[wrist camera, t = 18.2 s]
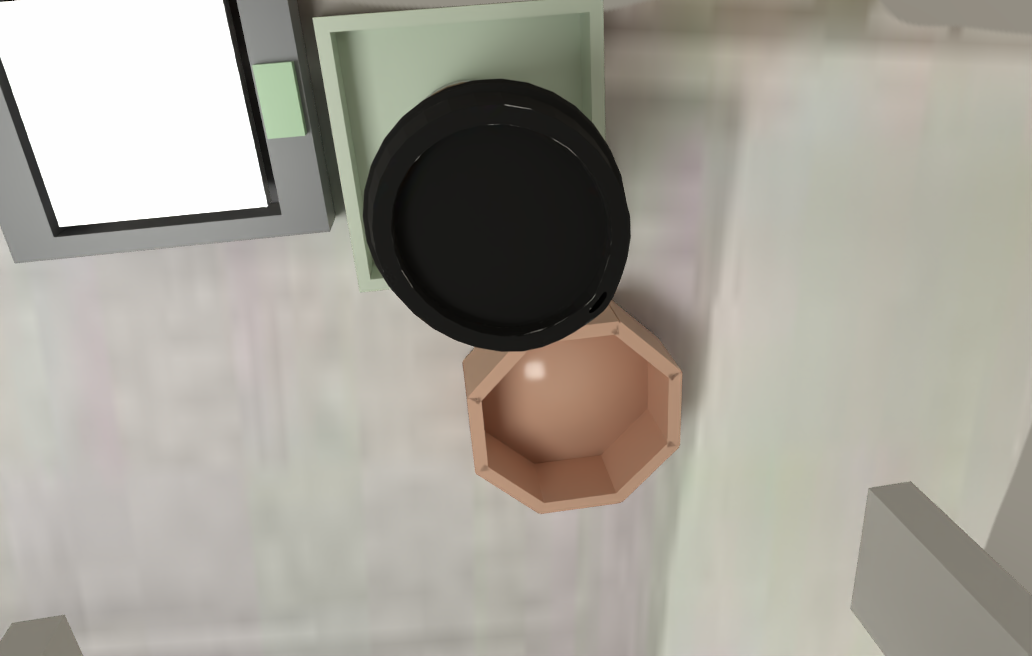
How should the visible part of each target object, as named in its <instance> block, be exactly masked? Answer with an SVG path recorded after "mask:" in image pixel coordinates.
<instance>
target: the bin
mask: <svg viewBox="0 0 1032 656" xmlns="http://www.w3.org/2000/svg"><path fill="white" fill-rule="evenodd" d="M463 371H464V380H465V389H466V397H467V406H468V415H469V424H470V433H471V441H472V449H473V457H474V466H475V473H476V474H477V475H479V476H480V477H482V478H484V479H485V480H487V481H488V482H490V483H491V484H493V485H495V486H496V487H498V488H499V489H501V490H502V491H504V492H506V493H507V494H509V495H510V496H512V497H513V498H515V499H517V500H518V501H520V502H521V503H523V504H525V505H526V506H528V507H529V508H531V509H532V510H534V511H536V512H537V513H540V514H544V513H551V512H558V511H565V510H573V509H580V508H587V507H595V506H602V505H609V504H617V503H621V502H623V501H624V500H625V499H626V498H627V497H628V496H629V495H630V494H631V493H632V492H633V491H634V490H635V489H636V488H637V487H638V486H639V485H641V484H642V483H643V482H644V481H645V480H646V479H647V478H648V477H649V476H650V475H651V474H652V473H653V472H654V471H655V470H656V469H657V468H658V467H659V466H660V465H661V464H662V463H663V462H664V461H665V460H666V459H667V458H668V457H670V456H671V455H672V454H673V453H674V452H675V451H676V450H677V449H678V448H679V446H680V427H681V396H682V371H681V369H680V368H679V366H678V365H677V364H676V362H675V361H674V360H673V358H672V357H671V355H670V354H669V353H668V351H667V350H666V348H665V347H664V346H663V344H662V343H661V341H660V340H659V339H658V338H657V337H656V336H655V335H654V334H653V333H651V332H650V331H649V330H648V329H646V328H645V327H644V326H643V325H642V324H640V323H639V322H638V321H637V320H635V319H634V318H633V317H632V316H631V315H629V314H628V313H627V312H626V311H624V310H623V309H622V308H621V307H620V306H618V305H617V304H616V303H615V302H613V301H612V300H611V302H610V303H609V305H608V306H607V308H606V309H605V310H604V311H603V312H602V313H601V314H600V315H598V316H597V317H596V318H595V319H593V320H592V321H590V322H589V323H588V324H586V325H585V326H583V327H582V328H580V329H579V330H577V331H576V332H574V333H572V334H570V335H569V336H567V337H565V338H563V339H561V340H559V341H557V342H554V343H552V344H549V345H547V346H544V347H542V348H537V349H532V350H527V351H523V352H500V351H494V350H488V349H482V348H477V347H475V348H474V349H473V350H472V352H471V353H470V354H469V355H468V356H467V357H466V358H465V359H464V361H463Z"/></svg>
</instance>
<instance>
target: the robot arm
mask: <svg viewBox="0 0 1032 656" xmlns="http://www.w3.org/2000/svg"><path fill="white" fill-rule="evenodd" d="M851 610H852V611H853V613H854V614H855V616H856V617H857V618H858V620H859V621H860V622H861V624H862V625H863V626H864V628H865V629H866V630H867V632H868V633H869V634H870V636H871V637H872V639H873V640H874V641H875V643H876V644H877V645H878V647H879V648H880V649H881V651H882V652H883V653H884V655H885V656H1032V595H1031V594H1030V593H1029V592H1028V591H1027V590H1026V589H1025V588H1024V587H1023V586H1022V585H1021V584H1019V583H1018V582H1017V581H1016V580H1015V579H1014V578H1013V577H1012V576H1011V575H1010V574H1009V573H1008V572H1007V571H1006V570H1005V569H1004V568H1002V567H1001V566H1000V565H999V564H998V563H997V562H996V561H995V560H994V559H993V558H992V557H991V556H990V555H989V554H987V553H986V552H985V551H984V550H983V549H982V548H981V547H980V546H979V545H978V544H977V543H976V542H975V541H974V540H973V539H972V538H970V537H969V536H968V535H967V534H966V533H965V532H964V531H963V530H962V529H961V528H960V527H959V526H958V525H957V524H956V523H954V522H953V521H952V520H951V519H950V518H949V517H948V516H947V515H946V514H945V513H944V512H943V511H942V510H941V509H940V508H939V507H937V506H936V505H935V504H934V503H933V502H932V501H931V500H930V499H929V498H928V497H927V496H926V495H925V494H924V493H923V492H921V491H920V490H919V489H918V488H917V487H916V486H915V485H914V484H913V483H912V482H905V483H898V484H892V485H886V486H879V487H873V488H869V490H868V496H867V503H866V509H865V516H864V523H863V529H862V536H861V542H860V549H859V556H858V562H857V569H856V576H855V582H854V589H853V595H852V602H851ZM0 656H83V654H82V652H81V650H80V648H79V646H78V643H77V641H76V639H75V637H74V635H73V632H72V630H71V628H70V626H69V624H68V622H67V619H66V617H65V615H61V616H54V617H48V618H42V619H35V620H29V621H23V622H16V623H12V624H11V626H10V627H9V629H8V630H7V632H6V633H5V635H4V637H3V638H2V640H1V641H0Z"/></svg>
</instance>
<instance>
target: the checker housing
mask: <svg viewBox="0 0 1032 656" xmlns="http://www.w3.org/2000/svg"><path fill="white" fill-rule="evenodd" d="M0 2H4V1H3V0H0ZM237 5H238V10H239V14H240V19H241V24H242V29H243V33H244V38H245V43H246V48H247V52H248V57H249V62H250V67H251V71H252V76H253V81H254V85H255V90H256V95H257V100H258V104H259V109H260V114H261V119H262V123H263V128H264V133H265V138H266V142H267V147H268V152H269V156H270V161H271V166H272V171H273V175H274V180H275V185H276V190H277V194H278V199H279V202H278V203H270V204H269V205H268V206H267V207H257V208H246V209H236V210H226V211H216V212H205V213H195V214H185V215H175V216H164V217H154V218H144V219H134V220H123V221H113V222H103V223H93V224H82V225H72V226H62V227H60V226H59V223H58V220H57V217H56V215H55V212H54V209H53V206H52V203H51V200H50V197H49V194H48V192H47V189H46V186H45V183H44V180H43V177H42V174H41V171H40V169H39V166H38V163H37V160H36V157H35V154H34V151H33V148H32V146H31V143H30V140H29V137H28V134H27V131H26V128H25V125H24V122H23V120H22V117H21V114H20V111H19V108H18V105H17V102H16V99H15V97H14V94H13V91H12V88H11V85H10V82H9V79H8V76H7V74H6V71H5V68H4V65H3V62H2V59H1V56H0V226H1V229H2V231H3V234H4V237H5V239H6V242H7V244H8V247H9V250H10V252H11V255H12V258H13V260H14V263H24V262H33V261H43V260H53V259H63V258H73V257H83V256H93V255H103V254H112V253H122V252H132V251H142V250H152V249H162V248H172V247H182V246H192V245H201V244H211V243H221V242H231V241H241V240H251V239H261V238H271V237H281V236H290V235H300V234H310V233H320V232H330V230H331V227H332V225H333V222H334V220H335V211H334V206H333V200H332V195H331V189H330V183H329V178H328V172H327V167H326V161H325V156H324V150H323V144H322V139H321V133H320V128H319V122H318V116H317V111H316V105H315V100H314V94H313V89H312V83H311V77H310V72H309V66H308V61H307V55H306V50H305V44H304V38H303V33H302V27H301V22H300V16H299V10H298V5H297V0H237Z"/></svg>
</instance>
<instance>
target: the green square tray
mask: <svg viewBox="0 0 1032 656" xmlns="http://www.w3.org/2000/svg"><path fill="white" fill-rule="evenodd" d="M312 19H313V24H314V30H315V36H316V42H317V48H318V53H319V59H320V65H321V71H322V77H323V82H324V88H325V94H326V100H327V106H328V111H329V117H330V123H331V129H332V135H333V140H334V146H335V152H336V158H337V164H338V169H339V175H340V181H341V187H342V193H343V198H344V204H345V210H346V216H347V222H348V227H349V233H350V239H351V245H352V250H353V256H354V262H355V268H356V274H357V279H358V285H359V291H360V292H370V291H379V290H388V289H391V288H390V287H389V286H388V285H387V283H386V281H385V280H384V278H383V277H382V275H381V273H380V272H379V270H378V269H377V267H376V265H375V263H374V260H373V258H372V255H371V252H370V250H369V247H368V244H367V242H366V235H365V228H364V222H363V201H364V189H365V185H366V182H367V178H368V174H369V170H370V167H371V164H372V162H373V160H374V158H375V156H376V154H377V152H378V150H379V148H380V146H381V144H382V142H383V140H384V138H385V137H386V136H387V134H388V133H389V132H390V131H391V130H392V128H393V127H394V126H395V125H396V124H397V122H398V121H399V120H400V119H401V117H403V116H404V115H405V114H406V113H408V112H409V111H410V110H411V109H413V108H414V107H415V106H416V105H417V104H419V103H420V102H421V101H422V100H424V99H425V98H426V97H428V96H429V95H430V94H431V93H433V92H434V91H435V90H437V89H439V88H440V87H442V86H444V85H446V84H449V83H453V82H456V81H463V80H484V79H508V80H515V81H521V82H528V83H531V84H533V85H536V86H539V87H542V88H544V89H547V90H550V91H552V92H554V93H556V94H557V95H559V96H561V97H562V98H564V99H565V100H567V101H569V102H570V103H572V104H573V105H575V106H576V107H577V108H578V109H579V110H580V111H581V112H582V113H583V114H584V115H585V116H586V117H587V118H588V119H589V120H590V121H591V122H592V123H593V124H594V125H595V127H596V128H597V130H598V131H599V133H600V134H601V136H602V137H603V139H604V140H605V78H604V15H603V0H532V1H519V2H505V3H493V4H479V5H466V6H453V7H440V8H427V9H414V10H400V11H387V12H374V13H361V14H348V15H335V16H322V17H314V18H312Z"/></svg>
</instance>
